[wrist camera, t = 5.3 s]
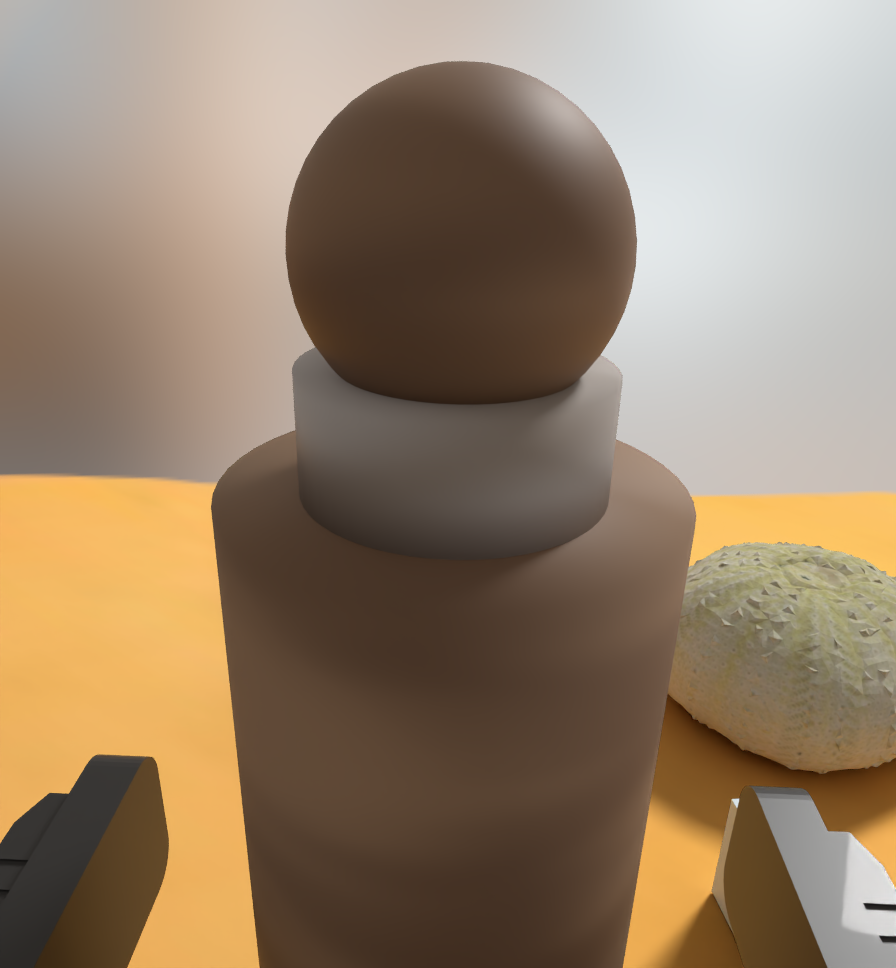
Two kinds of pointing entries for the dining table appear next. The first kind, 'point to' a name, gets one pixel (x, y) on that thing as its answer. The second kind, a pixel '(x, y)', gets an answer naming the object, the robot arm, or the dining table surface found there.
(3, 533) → the dining table surface
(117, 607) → the dining table surface
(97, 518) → the dining table surface
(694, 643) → the sea urchin shell
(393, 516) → the pepper mill
